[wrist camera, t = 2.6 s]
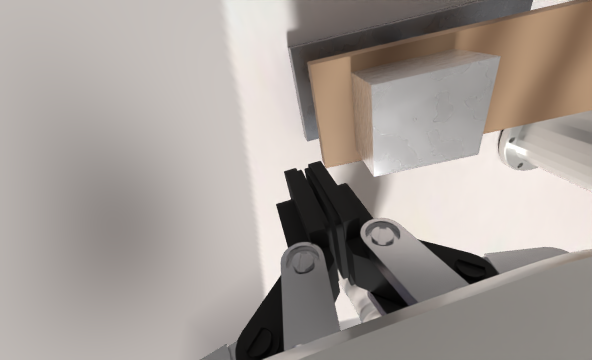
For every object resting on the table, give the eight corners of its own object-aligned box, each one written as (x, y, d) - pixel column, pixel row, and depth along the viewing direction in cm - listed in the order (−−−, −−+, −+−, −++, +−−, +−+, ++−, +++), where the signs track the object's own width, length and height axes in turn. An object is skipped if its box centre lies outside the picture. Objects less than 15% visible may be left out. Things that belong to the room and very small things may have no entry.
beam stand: (523, -11, 25) (625, -24, 18) (500, 83, 30) (574, 99, 23) (287, 47, 23) (308, 56, 17) (304, 137, 28) (326, 170, 22)
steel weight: (454, 48, 17) (500, 56, 13) (443, 131, 20) (478, 154, 17) (350, 72, 17) (371, 85, 14) (356, 150, 20) (374, 176, 17)
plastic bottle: (327, 261, 40) (396, 433, 23) (366, 241, 39) (466, 402, 22) (341, 281, 43) (410, 443, 26) (377, 263, 43) (470, 417, 26)
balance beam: (652, -18, 17) (683, -21, 16) (598, 99, 22) (619, 104, 20) (307, 61, 18) (310, 65, 17) (322, 159, 22) (325, 168, 21)
